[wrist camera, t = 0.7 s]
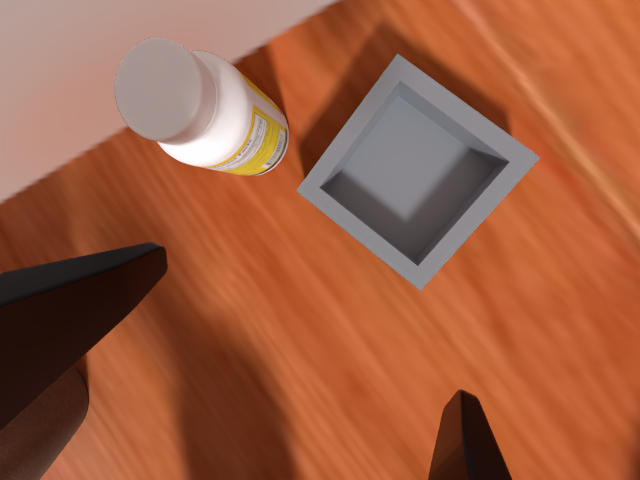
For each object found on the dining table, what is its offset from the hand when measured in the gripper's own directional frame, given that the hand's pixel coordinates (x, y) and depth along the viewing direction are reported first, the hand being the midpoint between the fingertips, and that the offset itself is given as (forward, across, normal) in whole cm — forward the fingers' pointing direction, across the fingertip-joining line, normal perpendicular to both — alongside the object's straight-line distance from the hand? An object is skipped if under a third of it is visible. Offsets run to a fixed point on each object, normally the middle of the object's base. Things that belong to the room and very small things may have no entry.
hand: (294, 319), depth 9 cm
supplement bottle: (+14, +10, +1) cm, 17 cm away
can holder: (+15, -1, +1) cm, 15 cm away
